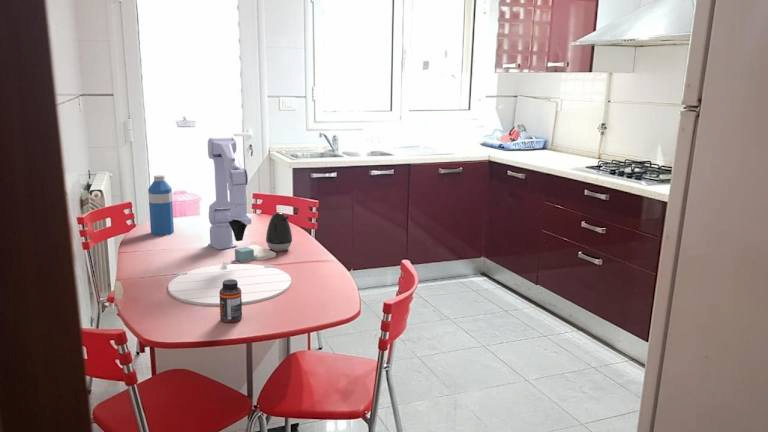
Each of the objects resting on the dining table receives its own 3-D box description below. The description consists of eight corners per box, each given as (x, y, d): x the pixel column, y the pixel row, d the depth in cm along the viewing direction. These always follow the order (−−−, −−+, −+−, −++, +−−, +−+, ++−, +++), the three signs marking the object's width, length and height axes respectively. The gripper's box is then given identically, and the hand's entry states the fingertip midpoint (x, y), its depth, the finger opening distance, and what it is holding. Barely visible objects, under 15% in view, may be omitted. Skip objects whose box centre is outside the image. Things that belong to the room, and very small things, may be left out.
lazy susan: (166, 271, 210) (166, 262, 209) (278, 262, 223) (278, 253, 223) (170, 313, 173) (169, 302, 173) (303, 299, 187) (303, 288, 186)
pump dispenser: (279, 254, 232) (278, 216, 228) (260, 249, 238) (260, 212, 235) (297, 249, 240) (297, 212, 236) (279, 244, 246) (279, 208, 243)
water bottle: (150, 231, 262) (146, 174, 256) (172, 229, 266) (169, 173, 260) (151, 236, 253) (148, 178, 248) (175, 234, 257) (172, 177, 252)
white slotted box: (237, 251, 235) (237, 247, 234) (255, 248, 240) (255, 244, 240) (257, 260, 224) (257, 256, 224) (275, 256, 229) (275, 252, 229)
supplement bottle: (217, 317, 170) (216, 279, 167) (238, 313, 173) (237, 276, 171) (224, 325, 165) (222, 286, 163) (245, 321, 168) (244, 282, 166)
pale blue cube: (235, 259, 224) (234, 248, 223) (246, 256, 228) (246, 246, 227) (242, 262, 221) (241, 251, 220) (253, 259, 224) (253, 249, 223)
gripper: (217, 201, 215) (219, 238, 218) (238, 208, 204) (239, 246, 207) (235, 199, 220) (236, 235, 222) (256, 205, 209) (257, 243, 212)
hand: (239, 240), depth 215 cm, fingers closed
